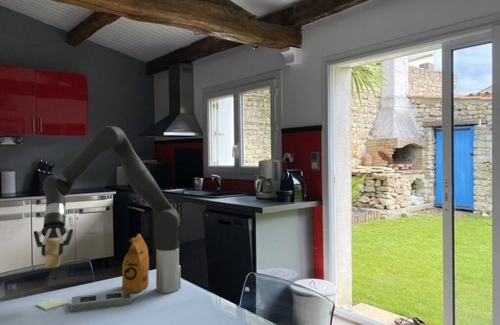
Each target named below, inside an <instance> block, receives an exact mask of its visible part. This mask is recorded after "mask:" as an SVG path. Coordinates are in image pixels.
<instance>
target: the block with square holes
mask: <svg viewBox="0 0 500 325" xmlns="http://www.w3.org/2000/svg"><path fill="white" fill-rule="evenodd" d="M128 305H129V306H130V305H131V295H130V292H128V290H127V291H123V290H119V291H112V292H105V293H104V292H103V293H95V294H87V295H86V294H85V295H78V296H77V295H76V296H72V297H71V305H70V308H71V311H70V312H71V313H75V312H77V313H78V312H84V311H91V310H99V309H106V308H107V309H108V308H114V307H115V308H116V307H120V306H121V307H123V306H128Z"/></svg>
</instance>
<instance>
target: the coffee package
mask: <svg viewBox="0 0 500 325" xmlns="http://www.w3.org/2000/svg"><path fill="white" fill-rule="evenodd" d="M128 242H130V243H131V245H130V247H129V250H128V252H127V253H126V254H125V256H124V259H123V262H122V265H121V266H122V267H121V268H122V280H121V281H122V283H121V290H122V291H127V290H128V292H129V293H134V294H135V293H142V292H143V291H144V289H147V288H148V286H149V284H150V283H149V282H150V281H149V270H150V257H149V249H148V246H147V243H146V242H145V240H144V238H143V236H142V235H141V233H138V234H136V236H135V237H131V238H129V240H128Z"/></svg>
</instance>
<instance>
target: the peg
mask: <svg viewBox="0 0 500 325" xmlns="http://www.w3.org/2000/svg"><path fill="white" fill-rule="evenodd" d="M59 240H60V238H48V239H46V240H45V252H46V254H45V257H44V261H45V262H44V268H45V269H50V268H59V267H60V256H61V255H60V256H59V244H60V242H59Z"/></svg>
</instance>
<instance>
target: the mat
mask: <svg viewBox="0 0 500 325" xmlns="http://www.w3.org/2000/svg"><path fill="white" fill-rule="evenodd" d="M66 305H69V302H68V301H66V300H63V299H61V298H60V297H56V298H51V299H49V300H45V301H42V302H39V303H35V306H36V307H37V308H40V309H42V310H45V311H50V310H54V309H56V308H60V307H63V306H66Z"/></svg>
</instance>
